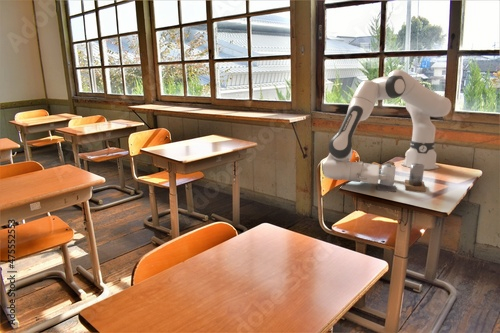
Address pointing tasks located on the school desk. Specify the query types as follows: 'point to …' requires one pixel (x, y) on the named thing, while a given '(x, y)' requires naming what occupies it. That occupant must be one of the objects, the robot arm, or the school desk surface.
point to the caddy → (414, 187)
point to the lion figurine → (384, 164)
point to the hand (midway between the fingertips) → (389, 175)
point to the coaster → (386, 187)
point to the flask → (416, 174)
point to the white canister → (388, 170)
